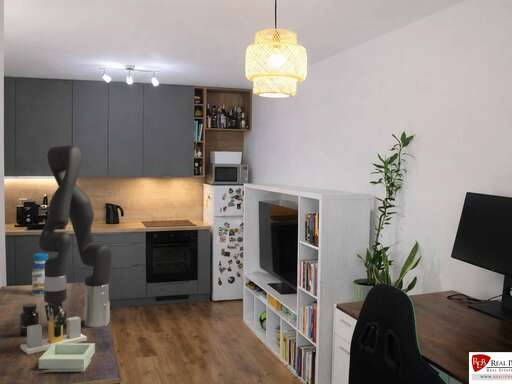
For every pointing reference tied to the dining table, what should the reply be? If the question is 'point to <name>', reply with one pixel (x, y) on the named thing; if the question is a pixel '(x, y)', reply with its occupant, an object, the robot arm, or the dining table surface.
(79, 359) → the sage tray
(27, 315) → the supplement bottle
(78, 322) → the block
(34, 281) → the blue vitamin bottle
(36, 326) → the block
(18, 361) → the dining table surface
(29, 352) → the block
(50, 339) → the block
